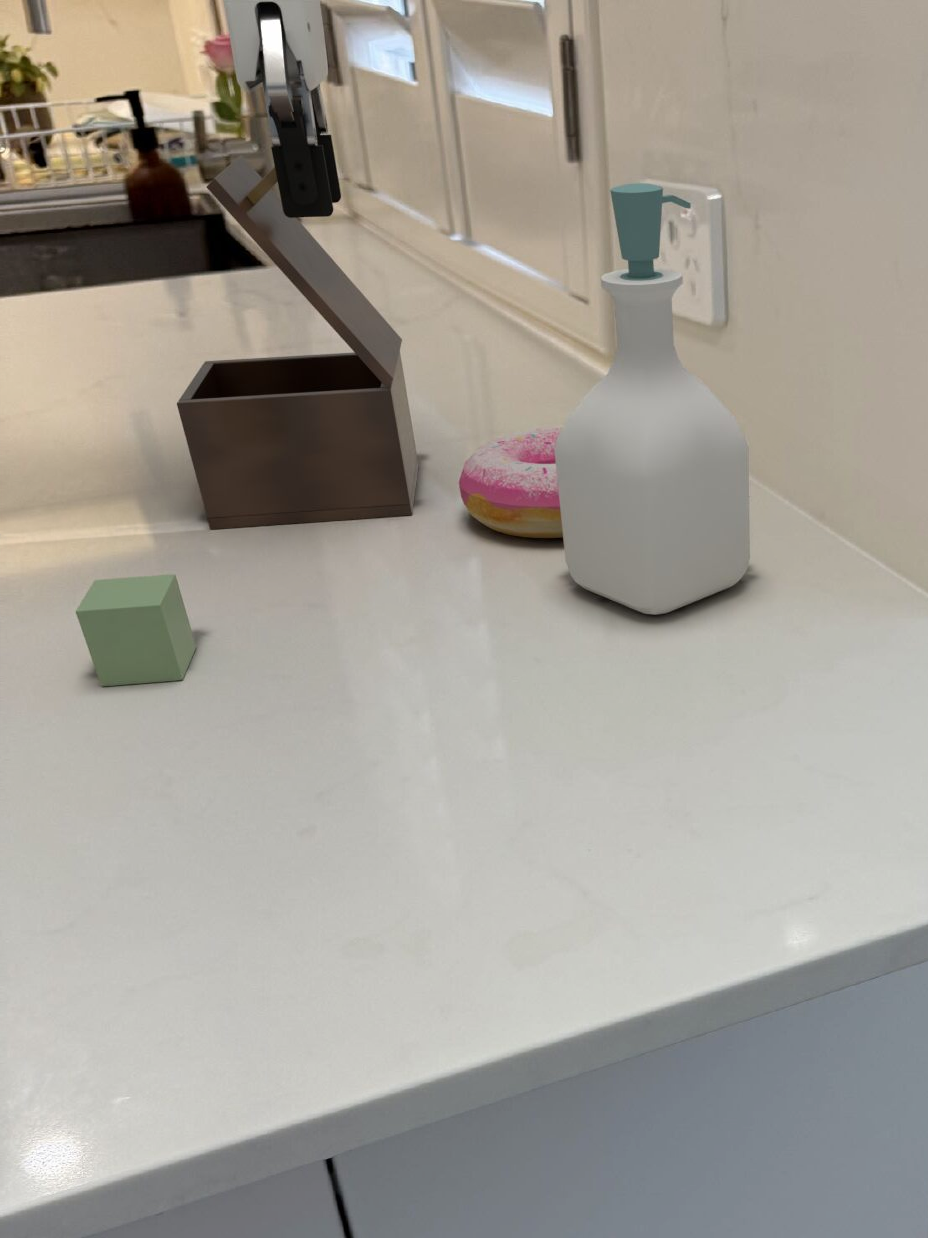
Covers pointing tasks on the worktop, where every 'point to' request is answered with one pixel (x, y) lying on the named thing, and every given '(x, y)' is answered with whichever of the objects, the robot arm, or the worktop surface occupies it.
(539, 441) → the donut
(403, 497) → the tea box
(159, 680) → the block
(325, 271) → the lid
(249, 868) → the worktop surface
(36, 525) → the worktop surface
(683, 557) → the soap bottle
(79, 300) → the worktop surface
